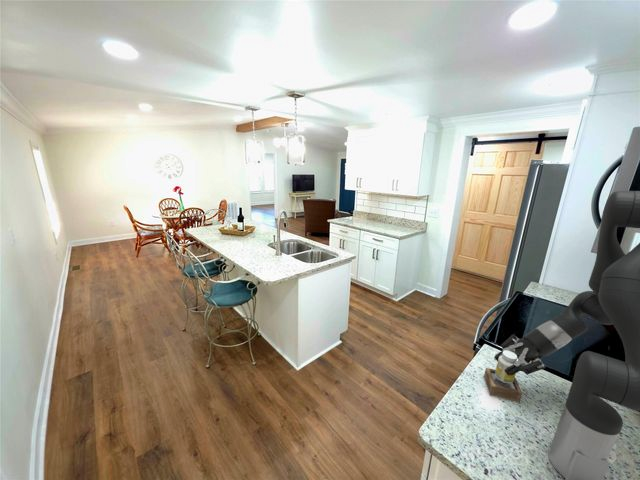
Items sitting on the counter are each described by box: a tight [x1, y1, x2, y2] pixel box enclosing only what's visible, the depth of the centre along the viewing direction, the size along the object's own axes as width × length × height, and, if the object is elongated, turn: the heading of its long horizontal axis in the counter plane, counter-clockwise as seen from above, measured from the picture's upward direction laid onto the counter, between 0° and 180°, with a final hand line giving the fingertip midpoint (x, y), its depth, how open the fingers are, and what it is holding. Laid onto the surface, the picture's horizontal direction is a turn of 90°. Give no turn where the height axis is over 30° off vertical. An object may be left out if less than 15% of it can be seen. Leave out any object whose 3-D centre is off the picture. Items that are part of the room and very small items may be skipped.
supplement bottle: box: [495, 350, 518, 383], centre depth 87 cm, size 5×5×10 cm
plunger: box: [491, 373, 515, 389], centre depth 89 cm, size 6×6×1 cm
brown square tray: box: [483, 367, 523, 404], centre depth 89 cm, size 8×8×4 cm
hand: (501, 366), depth 87 cm, fingers closed on supplement bottle, 5 cm apart
